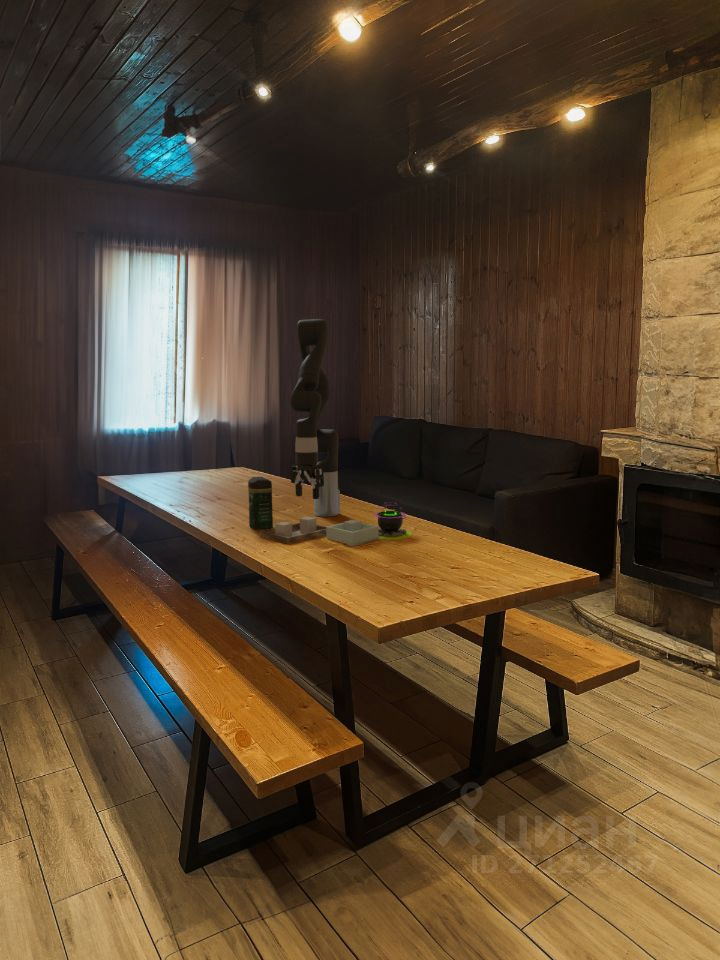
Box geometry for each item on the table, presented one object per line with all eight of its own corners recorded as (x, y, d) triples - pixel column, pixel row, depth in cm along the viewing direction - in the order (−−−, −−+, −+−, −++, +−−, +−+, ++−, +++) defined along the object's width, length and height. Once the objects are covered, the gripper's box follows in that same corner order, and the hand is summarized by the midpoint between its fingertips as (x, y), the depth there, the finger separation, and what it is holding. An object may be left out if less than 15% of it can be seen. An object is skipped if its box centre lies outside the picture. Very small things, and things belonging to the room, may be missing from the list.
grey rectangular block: (308, 530, 246) (308, 516, 245) (316, 532, 243) (316, 518, 243) (300, 532, 243) (299, 518, 242) (307, 534, 240) (307, 520, 240)
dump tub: (352, 533, 243) (352, 520, 243) (378, 539, 235) (378, 526, 234) (326, 540, 235) (326, 526, 234) (352, 546, 226) (352, 532, 226)
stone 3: (352, 534, 240) (352, 519, 240) (361, 536, 238) (360, 521, 237) (344, 536, 238) (344, 521, 237) (352, 538, 235) (352, 523, 234)
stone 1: (282, 536, 238) (282, 521, 237) (292, 537, 236) (291, 523, 235) (275, 538, 235) (274, 523, 234) (284, 540, 233) (284, 525, 232)
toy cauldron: (418, 532, 246) (418, 501, 244) (402, 541, 233) (403, 509, 231) (378, 528, 252) (378, 497, 251) (361, 537, 239) (361, 505, 237)
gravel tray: (303, 528, 251) (303, 521, 251) (331, 535, 241) (331, 527, 241) (260, 538, 238) (260, 531, 237) (288, 545, 228) (287, 538, 227)
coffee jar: (275, 530, 250) (274, 478, 247) (253, 532, 247) (252, 479, 244) (268, 524, 258) (267, 474, 255) (247, 526, 255) (245, 476, 252)
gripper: (329, 451, 237) (329, 498, 239) (301, 448, 246) (301, 493, 249) (312, 452, 231) (313, 501, 234) (284, 449, 241) (285, 496, 243)
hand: (307, 497), depth 241 cm, fingers open, 8 cm apart
